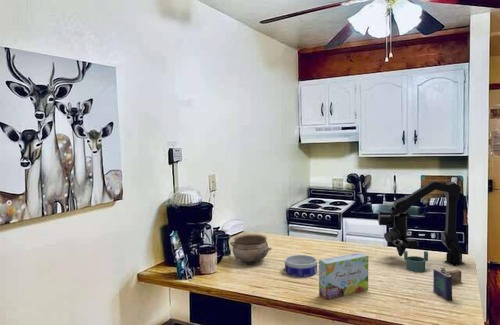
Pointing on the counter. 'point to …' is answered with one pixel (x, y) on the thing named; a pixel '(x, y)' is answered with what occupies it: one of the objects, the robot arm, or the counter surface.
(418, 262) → the bracket
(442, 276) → the flask
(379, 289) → the counter surface
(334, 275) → the snack box
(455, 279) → the stop rail
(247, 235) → the cooking pot
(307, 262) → the dog bowl
